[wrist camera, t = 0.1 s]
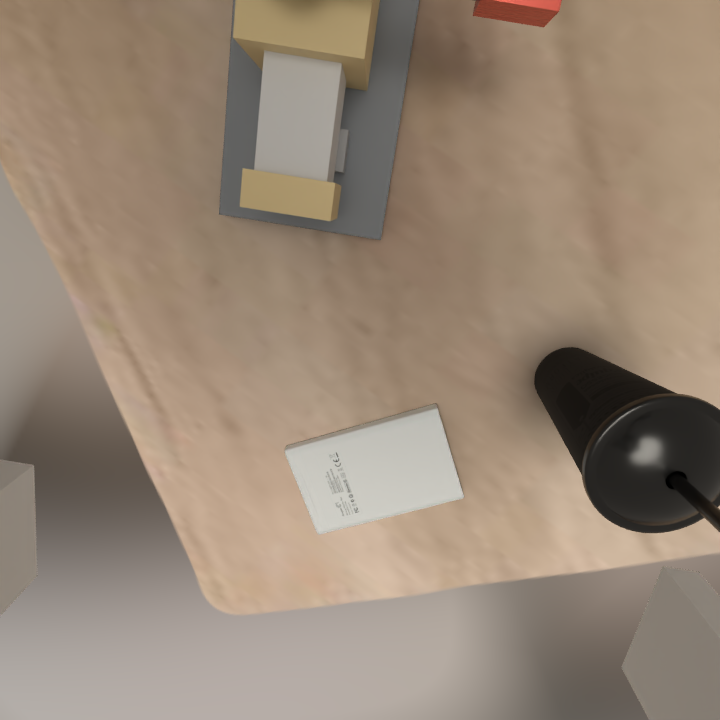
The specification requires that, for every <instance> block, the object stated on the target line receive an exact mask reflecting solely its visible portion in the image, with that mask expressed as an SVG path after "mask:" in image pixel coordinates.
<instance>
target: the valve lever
mask: <svg viewBox="0 0 720 720" xmlns="http://www.w3.org/2000/svg"><path fill="white" fill-rule="evenodd" d="M474 1H476V2H475V7H474V12H473V16H478V17H484V18H490V19H496V20H503V21H509V22H515V23H521V24H527V25H533V26H539V27H545V26H546V25H547V23H548V22H549V21H550V20H551V19H552V18H553V17H554V16H555V15H556V14H557V13H558V12H559V10H560V5H561V1H562V0H474Z"/></svg>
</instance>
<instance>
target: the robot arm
mask: <svg viewBox="0 0 720 720" xmlns="http://www.w3.org/2000/svg"><path fill="white" fill-rule="evenodd" d="M34 486H35V485H34V465H30V464H24V463H18V462H11V461H5V460H0V616H1V615H2V614H3V613H4V612H5V610H6V609H7V608H8V607H9V606H10V605H11V604H12V603H13V602H14V600H16V598H17V597H18V596H19V595H20V594H21V593H22V592H23V591H24V590H25V588H26V587H27V586H28V585H29V584H30V583H31V582H32V581H33V580H34V579H35V578H36V577H37V549H36V518H35V487H34ZM622 669H623V671H624V673H625V675H626V677H627V679H628V681H629V682H630V684H631V686H632V688H633V690H634V692H635V694H636V696H637V698H638V700H639V701H640V703H641V705H642V707H643V709H644V711H645V713H646V715H647V717H648V719H649V720H720V596H719V594H717V592H716V591H715V590H714V589H713V588H712V586H711V585H710V584H709V583H708V582H707V581H706V580H705V578H704V577H703V576H702V575H701V574H700V573H699V572H697V571H690V570H684V569H678V568H672V567H666V566H663V567H662V569H661V572H660V574H659V577H658V579H657V582H656V584H655V587H654V589H653V592H652V594H651V597H650V599H649V601H648V604H647V606H646V609H645V611H644V614H643V616H642V619H641V621H640V623H639V626H638V628H637V631H636V633H635V636H634V638H633V641H632V643H631V646H630V648H629V651H628V653H627V656H626V658H625V660H624V663H623V665H622Z"/></svg>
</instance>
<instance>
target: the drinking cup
mask: <svg viewBox="0 0 720 720" xmlns="http://www.w3.org/2000/svg"><path fill="white" fill-rule="evenodd" d="M535 388H536V391H537V393H538V395H539V397H540V399H541V401H542V402H543V404H544V406H545V408H546V410H547V412H548V413H549V415H550V417H551V419H552V421H553V423H554V424H555V426H556V428H557V430H558V432H559V434H560V435H561V437H562V439H563V441H564V443H565V445H566V446H567V448H568V450H569V452H570V454H571V456H572V457H573V459H574V461H575V463H576V465H577V467H578V468H579V470H580V472H581V474H582V480H583V484H584V488H585V491H586V493H587V495H588V497H589V499H590V501H591V502H592V504H593V505H594V507H595V508H596V509H597V510H598V511H599V513H601V514H602V515H603V516H604V517H605V518H606V519H607V520H609V521H611V522H612V523H614V524H616V525H618V526H620V527H622V528H625V529H628V530H632V531H636V532H642V533H663V532H670V531H674V530H678V529H681V528H684V527H687V526H689V525H692V524H694V523H696V522H698V521H700V520H701V519H703V518H705V519H706V520H707V521H708V522H710V523H711V524H712V525H713V526H714V527H715V528H716V529H717V530H718V531H719V532H720V509H719V508H717V507H718V506H719V505H720V410H719V409H718V408H716V407H715V406H713V405H712V404H710V403H708V402H706V401H704V400H702V399H699V398H697V397H693V396H689V395H684V394H677V393H674V392H672V391H670V390H668V389H666V388H664V387H662V386H659V385H657V384H655V383H653V382H651V381H649V380H647V379H644V378H642V377H640V376H638V375H636V374H634V373H632V372H629V371H627V370H625V369H623V368H621V367H619V366H616V365H614V364H612V363H610V362H608V361H606V360H604V359H601V358H599V357H597V356H595V355H593V354H591V353H589V352H586V351H584V350H582V349H578V348H563V349H559V350H556V351H554V352H552V353H551V354H549V355H548V356H547V357H546V358H545V359H544V360H543V361H542V362H541V363H540V365H539V366H538V368H537V371H536V374H535Z"/></svg>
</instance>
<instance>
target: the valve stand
mask: <svg viewBox="0 0 720 720" xmlns="http://www.w3.org/2000/svg"><path fill="white" fill-rule="evenodd" d="M418 5H419V0H234V1H233V16H232V30H231V45H230V60H229V75H228V90H227V104H226V119H225V134H224V149H223V164H222V178H221V193H220V208H219V214H220V215H226V216H232V217H239V218H245V219H251V220H258V221H264V222H270V223H276V224H283V225H289V226H295V227H302V228H308V229H314V230H321V231H327V232H333V233H340V234H346V235H352V236H358V237H365V238H371V239H377V240H381V236H382V229H383V223H384V217H385V211H386V204H387V198H388V192H389V186H390V180H391V173H392V167H393V161H394V155H395V148H396V142H397V136H398V130H399V123H400V117H401V111H402V105H403V99H404V92H405V86H406V80H407V74H408V67H409V61H410V55H411V49H412V42H413V36H414V30H415V24H416V18H417V11H418Z"/></svg>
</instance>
